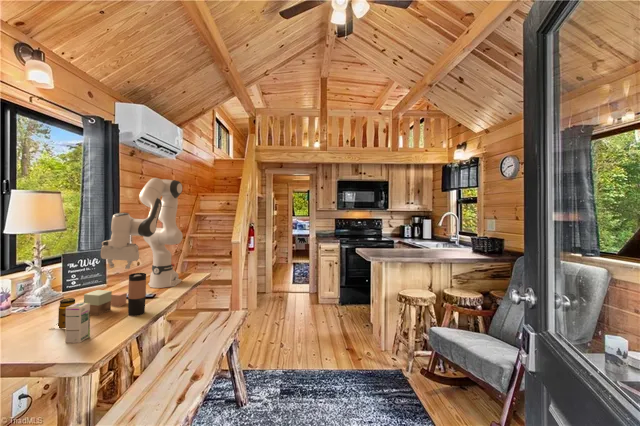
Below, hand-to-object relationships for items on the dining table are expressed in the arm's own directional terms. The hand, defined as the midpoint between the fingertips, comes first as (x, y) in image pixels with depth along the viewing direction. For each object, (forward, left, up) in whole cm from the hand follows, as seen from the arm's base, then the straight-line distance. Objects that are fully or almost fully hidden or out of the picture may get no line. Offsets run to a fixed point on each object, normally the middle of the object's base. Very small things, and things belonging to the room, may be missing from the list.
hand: (119, 268), depth 165 cm
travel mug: (+10, +18, -20) cm, 29 cm away
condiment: (+30, -1, -20) cm, 36 cm away
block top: (+12, -2, -15) cm, 19 cm away
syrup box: (+41, +16, -20) cm, 48 cm away
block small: (0, 0, -20) cm, 20 cm away
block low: (+12, -2, -20) cm, 24 cm away
